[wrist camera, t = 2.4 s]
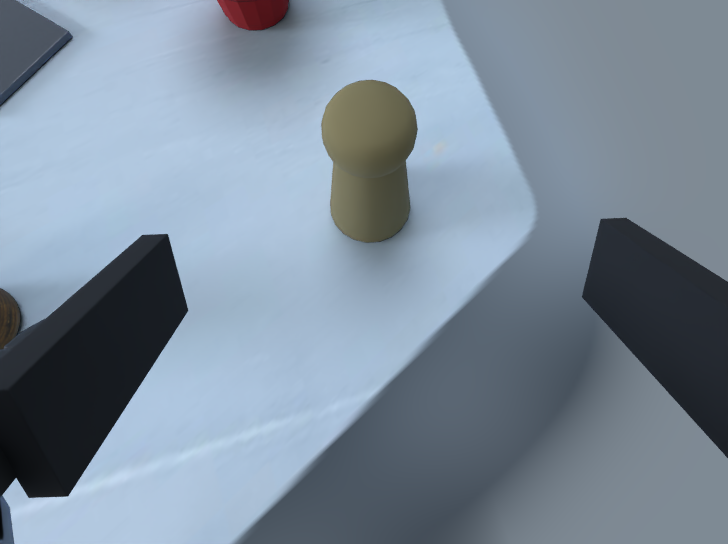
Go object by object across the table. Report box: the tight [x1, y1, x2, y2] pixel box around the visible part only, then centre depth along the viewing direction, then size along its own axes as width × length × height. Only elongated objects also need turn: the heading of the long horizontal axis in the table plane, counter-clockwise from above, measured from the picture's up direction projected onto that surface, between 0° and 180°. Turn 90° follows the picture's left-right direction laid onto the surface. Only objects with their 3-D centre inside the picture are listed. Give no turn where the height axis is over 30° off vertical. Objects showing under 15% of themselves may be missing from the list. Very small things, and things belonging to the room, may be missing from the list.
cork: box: [321, 80, 418, 243], centre depth 27 cm, size 6×6×11 cm
